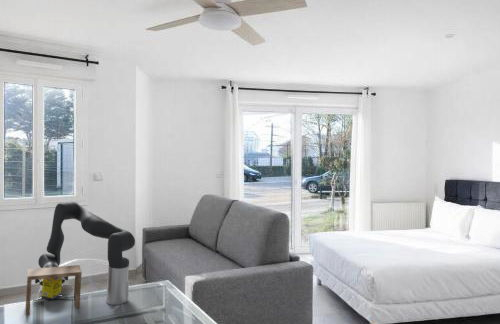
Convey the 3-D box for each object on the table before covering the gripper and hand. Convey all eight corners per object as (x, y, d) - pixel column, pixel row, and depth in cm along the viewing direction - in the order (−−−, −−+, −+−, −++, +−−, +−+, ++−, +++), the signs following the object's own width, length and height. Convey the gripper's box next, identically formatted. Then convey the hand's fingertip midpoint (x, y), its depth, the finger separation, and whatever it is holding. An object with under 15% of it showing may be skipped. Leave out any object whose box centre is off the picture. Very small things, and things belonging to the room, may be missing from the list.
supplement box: (52, 300, 175) (53, 277, 174) (41, 297, 176) (42, 274, 175) (61, 294, 180) (62, 272, 179) (51, 292, 182) (52, 270, 181)
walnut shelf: (77, 299, 180) (79, 265, 179) (79, 307, 171) (81, 271, 170) (25, 305, 169) (27, 269, 168) (25, 314, 160) (27, 276, 160)
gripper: (35, 265, 188) (35, 276, 174) (67, 262, 195) (69, 273, 181) (34, 279, 188) (34, 292, 174) (66, 276, 196) (68, 288, 182)
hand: (52, 282), depth 178 cm, fingers closed on supplement box, 8 cm apart
